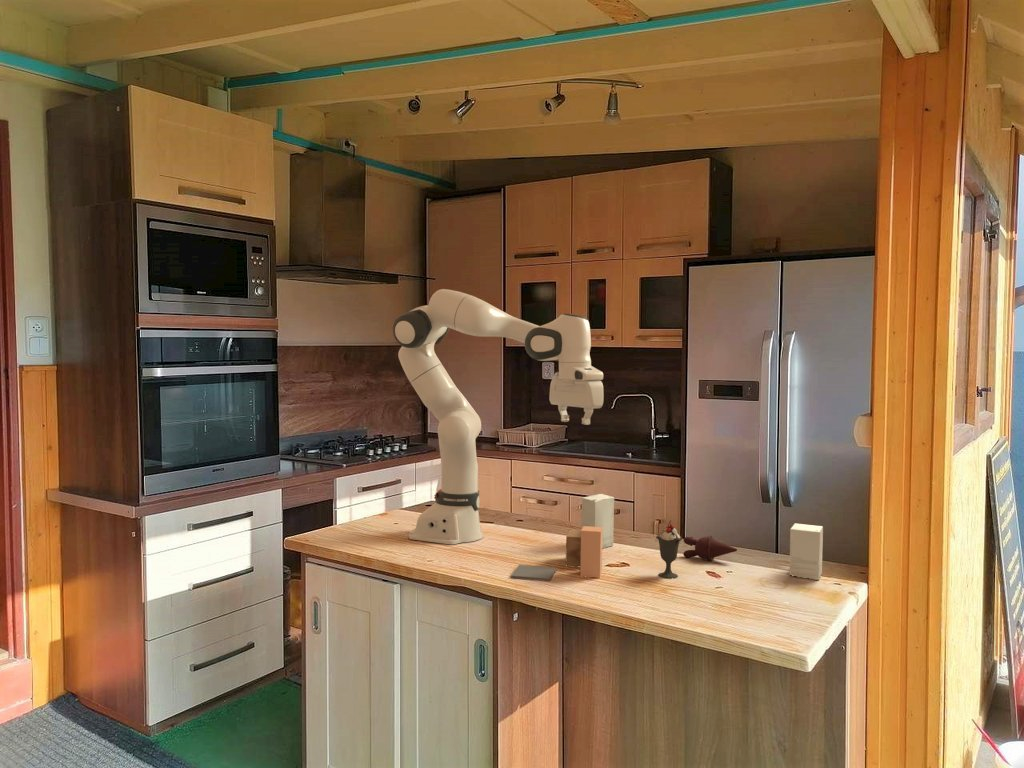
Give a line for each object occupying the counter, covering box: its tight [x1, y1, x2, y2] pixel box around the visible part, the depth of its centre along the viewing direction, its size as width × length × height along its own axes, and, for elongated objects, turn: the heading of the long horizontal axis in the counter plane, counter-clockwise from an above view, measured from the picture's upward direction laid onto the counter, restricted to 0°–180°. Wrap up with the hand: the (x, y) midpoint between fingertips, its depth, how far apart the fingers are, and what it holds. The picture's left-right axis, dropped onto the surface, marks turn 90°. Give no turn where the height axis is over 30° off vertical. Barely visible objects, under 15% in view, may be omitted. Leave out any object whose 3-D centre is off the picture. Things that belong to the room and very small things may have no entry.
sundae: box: [655, 519, 683, 580], centre depth 203 cm, size 7×7×15 cm
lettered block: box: [565, 529, 581, 568], centre depth 214 cm, size 8×8×8 cm
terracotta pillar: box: [579, 526, 603, 579], centre depth 203 cm, size 5×5×12 cm
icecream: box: [682, 535, 738, 562], centre depth 219 cm, size 7×7×15 cm
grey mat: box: [510, 564, 557, 582], centre depth 204 cm, size 10×10×1 cm
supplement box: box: [789, 523, 824, 581], centre depth 206 cm, size 7×7×13 cm
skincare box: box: [580, 493, 615, 549], centre depth 231 cm, size 8×6×15 cm
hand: (575, 423), depth 217 cm, fingers open, 8 cm apart
